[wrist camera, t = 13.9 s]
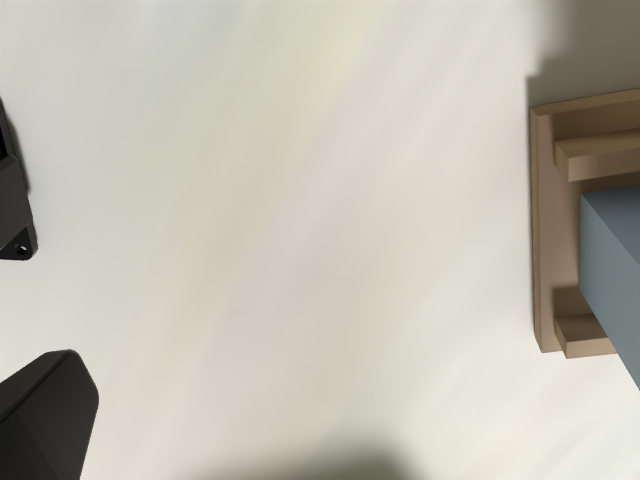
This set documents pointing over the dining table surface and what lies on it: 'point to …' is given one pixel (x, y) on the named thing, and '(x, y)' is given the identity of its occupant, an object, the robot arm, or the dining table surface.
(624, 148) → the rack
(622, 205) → the blue angular block
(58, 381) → the robot arm
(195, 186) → the dining table surface
